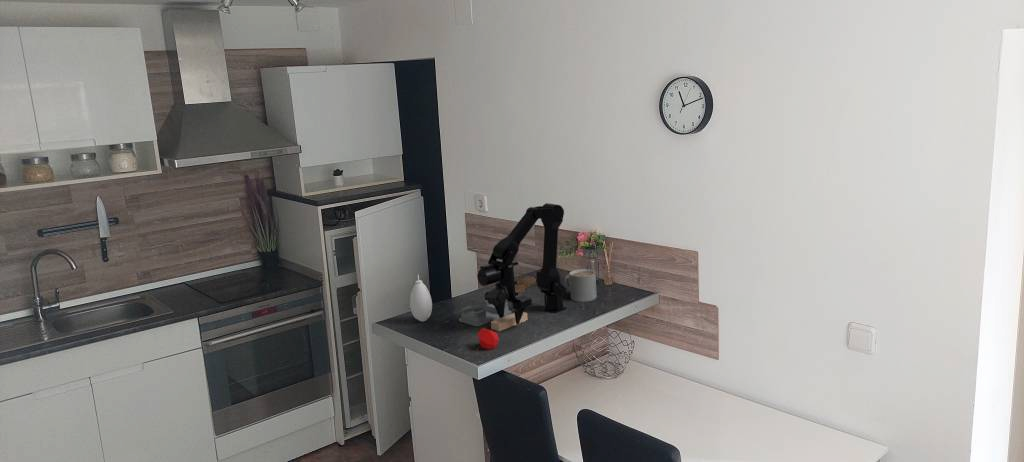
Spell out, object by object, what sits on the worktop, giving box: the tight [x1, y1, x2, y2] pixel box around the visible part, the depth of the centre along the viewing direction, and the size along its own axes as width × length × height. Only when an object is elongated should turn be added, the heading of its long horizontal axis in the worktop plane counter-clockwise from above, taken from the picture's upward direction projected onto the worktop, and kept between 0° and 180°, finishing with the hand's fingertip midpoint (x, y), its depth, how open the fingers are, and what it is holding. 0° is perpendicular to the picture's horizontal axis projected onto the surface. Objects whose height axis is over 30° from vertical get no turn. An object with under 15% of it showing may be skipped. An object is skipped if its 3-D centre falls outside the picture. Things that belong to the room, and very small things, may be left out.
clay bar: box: [490, 311, 528, 332], centre depth 260 cm, size 4×14×3 cm, turn 133°
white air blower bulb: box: [409, 274, 433, 322], centre depth 269 cm, size 8×8×18 cm
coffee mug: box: [564, 268, 597, 303], centre depth 284 cm, size 13×10×10 cm
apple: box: [477, 327, 500, 350], centre depth 240 cm, size 7×7×8 cm
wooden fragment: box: [515, 276, 537, 293], centre depth 308 cm, size 26×11×1 cm, turn 153°
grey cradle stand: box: [458, 300, 513, 328], centre depth 269 cm, size 10×17×4 cm, turn 133°
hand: (509, 321), depth 260 cm, fingers open, 8 cm apart
